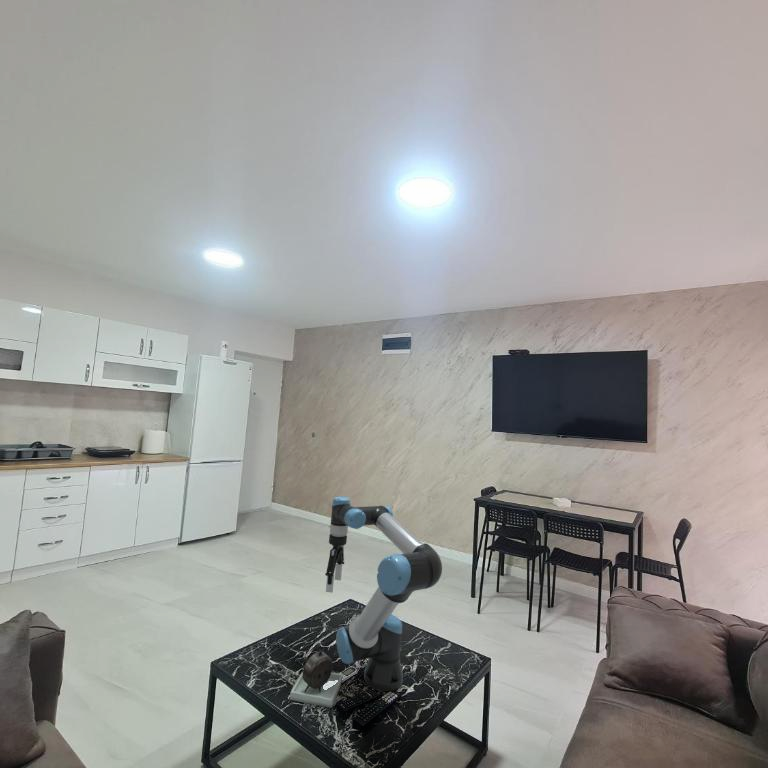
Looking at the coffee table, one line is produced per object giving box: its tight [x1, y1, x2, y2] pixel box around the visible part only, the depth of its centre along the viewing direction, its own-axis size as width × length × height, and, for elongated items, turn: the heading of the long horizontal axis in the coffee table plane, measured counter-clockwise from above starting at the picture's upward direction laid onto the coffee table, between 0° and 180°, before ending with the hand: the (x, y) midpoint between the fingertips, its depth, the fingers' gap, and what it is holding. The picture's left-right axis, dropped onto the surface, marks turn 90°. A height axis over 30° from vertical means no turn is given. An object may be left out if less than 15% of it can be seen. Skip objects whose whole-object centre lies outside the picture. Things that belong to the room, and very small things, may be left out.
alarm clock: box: [302, 641, 334, 692], centre depth 152 cm, size 11×5×16 cm, turn 134°
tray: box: [289, 671, 344, 709], centre depth 152 cm, size 15×15×2 cm
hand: (333, 585), depth 176 cm, fingers open, 13 cm apart
